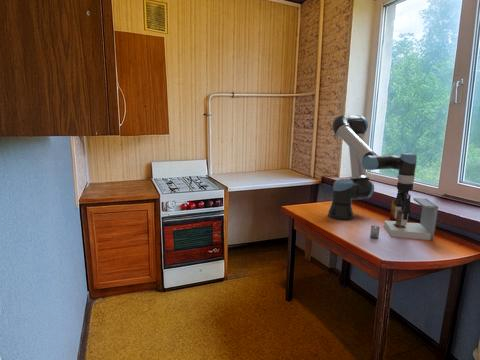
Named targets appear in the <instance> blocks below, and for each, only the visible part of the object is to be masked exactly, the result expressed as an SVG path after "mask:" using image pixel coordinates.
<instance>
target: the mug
mask: <svg viewBox="0 0 480 360" xmlns="http://www.w3.org/2000/svg"><path fill="white" fill-rule="evenodd" d="M395 201H396V199H392V201H391V207H390V216H389V221H396V219H397V218H395V210H396V207H397V206H396V204H395ZM400 207H401V206H400ZM401 210H403V205H402V208H401ZM408 221H409V219H408V220H407V222H408Z"/></svg>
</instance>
